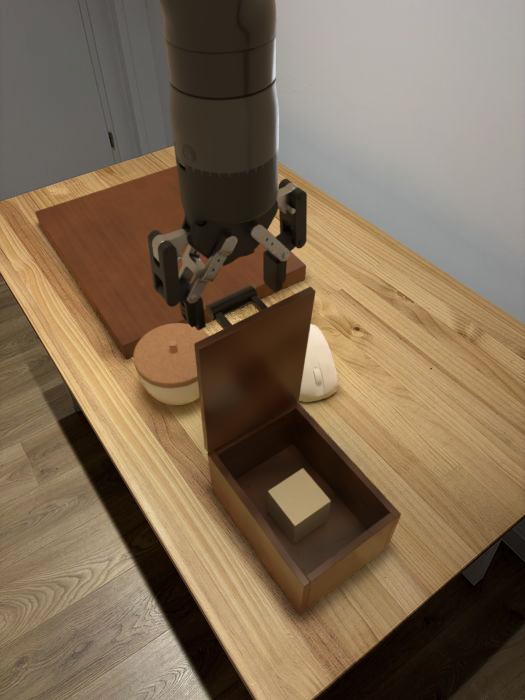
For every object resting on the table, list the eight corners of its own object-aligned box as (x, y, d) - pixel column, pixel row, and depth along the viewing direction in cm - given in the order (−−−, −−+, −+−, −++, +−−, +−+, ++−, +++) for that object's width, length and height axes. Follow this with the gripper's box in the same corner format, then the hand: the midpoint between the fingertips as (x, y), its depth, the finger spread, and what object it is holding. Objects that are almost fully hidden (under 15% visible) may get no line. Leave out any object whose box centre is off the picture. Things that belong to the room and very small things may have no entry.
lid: (316, 290, 51) (281, 257, 54) (198, 349, 46) (167, 309, 49) (299, 400, 65) (272, 369, 68) (208, 453, 61) (183, 418, 63)
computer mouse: (297, 407, 76) (299, 379, 71) (271, 340, 84) (271, 311, 80) (341, 397, 77) (346, 368, 72) (311, 332, 86) (313, 303, 81)
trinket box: (207, 351, 83) (202, 306, 76) (227, 406, 76) (223, 362, 69) (136, 369, 81) (124, 324, 74) (150, 427, 74) (138, 384, 67)
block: (301, 488, 67) (303, 467, 63) (327, 520, 64) (331, 500, 61) (267, 510, 65) (267, 490, 61) (293, 544, 62) (294, 526, 59)
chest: (387, 548, 63) (401, 514, 56) (299, 615, 58) (303, 587, 52) (294, 440, 73) (296, 400, 66) (212, 490, 68) (206, 453, 61)
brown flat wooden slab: (193, 173, 116) (39, 225, 104) (191, 160, 114) (34, 211, 102) (305, 279, 94) (126, 359, 82) (306, 265, 92) (122, 345, 80)
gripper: (275, 96, 44) (273, 256, 57) (112, 149, 39) (149, 313, 51) (336, 134, 40) (320, 297, 52) (163, 198, 35) (189, 363, 47)
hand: (235, 304), depth 52 cm, fingers open, 8 cm apart
